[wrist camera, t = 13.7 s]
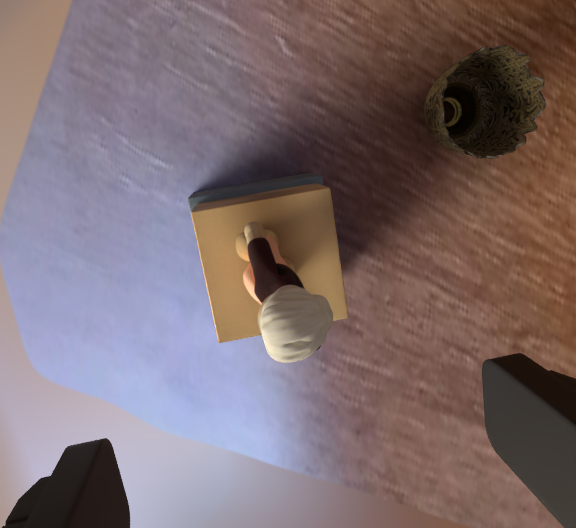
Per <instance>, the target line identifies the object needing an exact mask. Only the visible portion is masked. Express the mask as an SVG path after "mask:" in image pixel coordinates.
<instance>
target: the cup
mask: <svg viewBox="0 0 576 528" xmlns="http://www.w3.org/2000/svg"><path fill="white" fill-rule="evenodd" d="M528 61H529V58H528V56H527V55H525V54H517V53H516V51H515V49H514V48H512V47H510V46H507V45H504V46H496V47H493V48H488V47H487V46H485V47H483V48H481V49H479V50H478V51H476V52H474V53H473V54H472V53H471V54H469V55H467V56H466V57H464V58H463V59H462V60H461V61H459V62H458V63H456V64H455V65H453V66H452V67H450V68H449V69H448V70H446V71H445V72H444V73H443V74H442V75H441V76H440V77H439V78H438V79H437V80H436V81H435V82H434V84H433V85H432V87H431V88H430V90H429V92H428V94H427V97H426V100H425V105H424V119H425V123H426V126H427V129H428V131H429V133H430V134H431V136H432V137H433V138H434V139H435V140H436V141H437V142H438V143H439V144H440V145H442V146H443V147H445V148H447V149H449V150H452V151H455V152H458V153H462V154H465V155H470V156H473V157H476V158H480V159H481V158H490V159H496V158H498V155H504V154H506V153H511V152H514V151H515V150H516V148H515V147H520V146H521V145H524V144H525V143H526V141H527V140H526V137H525V135H524V134H526V133H528V132H532V131H535V130H536V129H537V125H536V123H535V122H534V123H533V121H534V120H535V118H536V117H537V116H539V115H540V114H541V113H542V111H543V110H544V108H545V106H546V103H545V99H544V97H543V95H542V94H541V91H540V90H541V89H542V88H543V86H544V80H543V79H542V78H541V77H537V78H535V77H536V76H535V77H534V76H531V74H530V69H529V68H527V67H526V66H525V63H527V62H528ZM443 103H449V104H451V105H452V107H453V109H454V115H453V117H452V119H451V120H450V121H449V122H446V123H445V121H444V108H443Z"/></svg>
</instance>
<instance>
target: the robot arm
mask: <svg viewBox="0 0 576 528" xmlns="http://www.w3.org/2000/svg"><path fill="white" fill-rule="evenodd" d="M482 381H483V398H484V414H485V426H486V431H487V435H488V438H489V440H490V442H491V445H492V446H493V448H494V450H495V451H496V453H497V454H498V455H499V456H500V457H501V459H502V460H503V461H504V462H505V463H506V464H507V465H508V466H509V467H510V468H511V470H512V471H513V472H514V473H515V474H516V475H517V476H518V477H519V478H520V479H521V481H522V482H523V483H524V484H525V485H526V486H527V487H528V488H529V489H530V490H531V492H532V493H533V494H534V495H535V496H536V497H537V498H538V499H539V500H540V502H541V503H542V504H543V505H544V506H545V507H546V508H547V509H548V510H549V511H550V513H551V514H552V515H553V516H554V517H555V518H556V519H557V520H558V521H559V522H560V524H561V525H562V526H563V527H564V528H576V379H575V378H572V377H569V376H566V375H563V374H561V373H558V372H555V371H552V370H550V371H548V370H546V369H545V368H543V367H542V366H540V365H539V364H537V363H536V362H534V361H533V360H531V359H530V358H528V357H527V356H525V355H523V354H521V353H517V354H512V355H507V356H503V357H498V358H493V359H488V360H485V361H484V363H483V366H482ZM2 528H130V511H129V505H128V500H127V497H126V493H125V490H124V486H123V482H122V479H121V475H120V471H119V468H118V464H117V461H116V457H115V454H114V450H113V447H112V444H111V443H110V441H109V440H108V439H107V438H105V439H100V440H95V441H90V442H85V443H81V444H76V445H71V446H68V447H67V448H66V449H65V451H64V452H63V454H62V456H61V458H60V460H59V462H58V463H57V465H56V467H55V469H54V471H53V473H52V475H51V476H49V477H44V478H41V479H39V480H38V481H37V482H36V484H34V485H33V486H32V487H31V488H30V489H29V490H28V491H27V492H26V493H25V494H24V495H23V496H22V497H21V498H20V499H19V500H18V502H17V503H16V505H15V507H14V508H13V510H12V512H11V513H10V515H9V517H8V518H7V520H6V525H5V526H3V527H2Z"/></svg>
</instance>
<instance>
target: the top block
mask: <svg viewBox="0 0 576 528" xmlns="http://www.w3.org/2000/svg"><path fill="white" fill-rule="evenodd" d="M191 216H192V220H193V225H194V230H195V234H196V239H197V244H198V249H199V253H200V258H201V263H202V267H203V272H204V277H205V281H206V286H207V291H208V295H209V300H210V305H211V310H212V314H213V319H214V324H215V328H216V333H217V338H218V342H219V343H223V342H228V341H233V340H238V339H243V338H248V337H253V336H258V335H262V334H261V332H260V329H259V326H258V313H259V309H260V307H261V304H260V303H259V302H258V301H256V300H255V299H254V298H253V297H252V296H251V295H250V293H249V292H248V290H247V288H246V286H245V284H244V280H243V274H244V271H245V270H246V268H247V267H248V265H249V264H250V261H246V260H244V259H242V258H241V257H240V256H239V255H238V253H237V249H236V240H237V238H238V236H239V235H240V234H242V233H243V232H244V229H245V226H246V225H247V224H248V223H250V222H258V223H260V224H261V225H262V226H263V229H264V230H265V229H268V230H272V231H273V232H275V234H276V235H277V238H278V250H279V254H280V256H281V257H282V258H283V257H284V258H288V259H289V260H291V262H292V263H293V265H294V266H295V273H296V275H297V276H298V277H299V279H300V280H301V282H302V283H303V286H304V288H305V290H306V291H308V292H309V293H310V294H312V295H315V294H318V295H322V296H324V297H325V298H326V299H327V300H328V302H329V304H330V307H331V310H332V312H333V320H339V319H344V318H348V312H347V305H346V298H345V290H344V283H343V276H342V269H341V262H340V255H339V247H338V240H337V233H336V226H335V219H334V212H333V204H332V197H331V190H330V188H329V187H326V186H323V185H320V184H317V183H313V184H307V185H301V186H296V187H290V188H284V189H279V190H273V191H267V192H261V193H256V194H250V195H244V196H239V197H233V198H227V199H221V200H216V201H210V202H204V203H199V204H196V205H195V207H194V209H193V210H192V212H191Z"/></svg>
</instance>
